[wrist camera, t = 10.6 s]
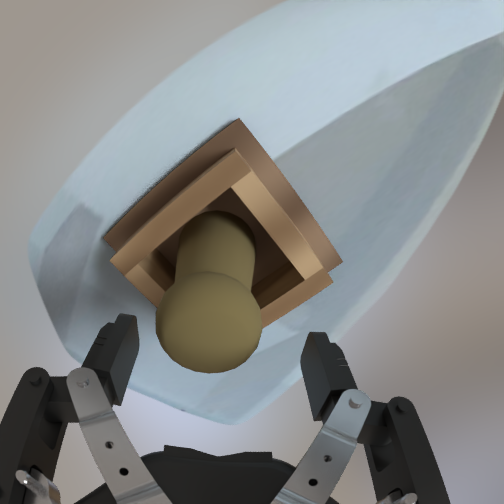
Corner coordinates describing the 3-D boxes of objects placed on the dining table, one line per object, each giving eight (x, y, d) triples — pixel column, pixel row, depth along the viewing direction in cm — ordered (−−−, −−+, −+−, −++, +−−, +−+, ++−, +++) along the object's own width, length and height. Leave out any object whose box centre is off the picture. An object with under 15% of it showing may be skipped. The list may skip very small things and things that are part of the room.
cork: (162, 239, 21) (113, 331, 11) (226, 194, 20) (220, 262, 10) (209, 294, 24) (198, 402, 14) (271, 257, 23) (299, 358, 13)
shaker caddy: (106, 234, 22) (83, 257, 18) (239, 118, 19) (240, 115, 15) (214, 340, 27) (212, 374, 23) (339, 257, 24) (359, 284, 20)
